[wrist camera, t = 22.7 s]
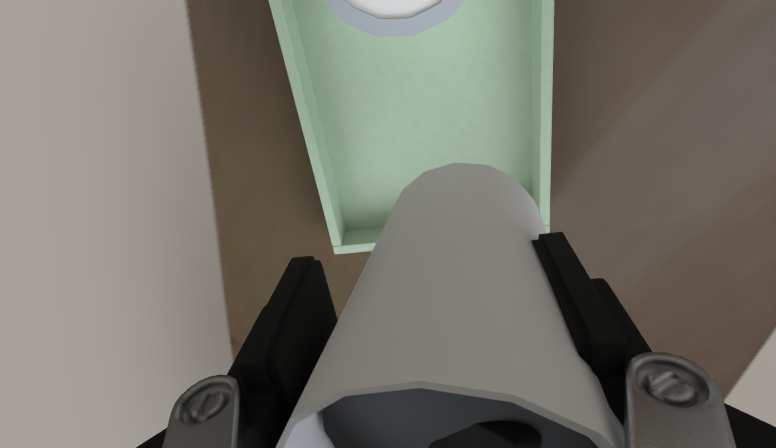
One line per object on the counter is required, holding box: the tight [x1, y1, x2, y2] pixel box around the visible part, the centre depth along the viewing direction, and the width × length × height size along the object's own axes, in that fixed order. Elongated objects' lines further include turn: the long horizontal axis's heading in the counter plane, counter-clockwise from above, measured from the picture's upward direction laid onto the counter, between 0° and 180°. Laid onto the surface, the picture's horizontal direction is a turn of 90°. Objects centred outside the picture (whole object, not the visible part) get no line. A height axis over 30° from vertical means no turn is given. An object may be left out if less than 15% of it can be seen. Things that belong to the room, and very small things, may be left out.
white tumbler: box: [276, 162, 625, 448], centre depth 12 cm, size 7×7×10 cm
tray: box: [269, 0, 554, 254], centre depth 21 cm, size 21×13×2 cm, turn 9°
